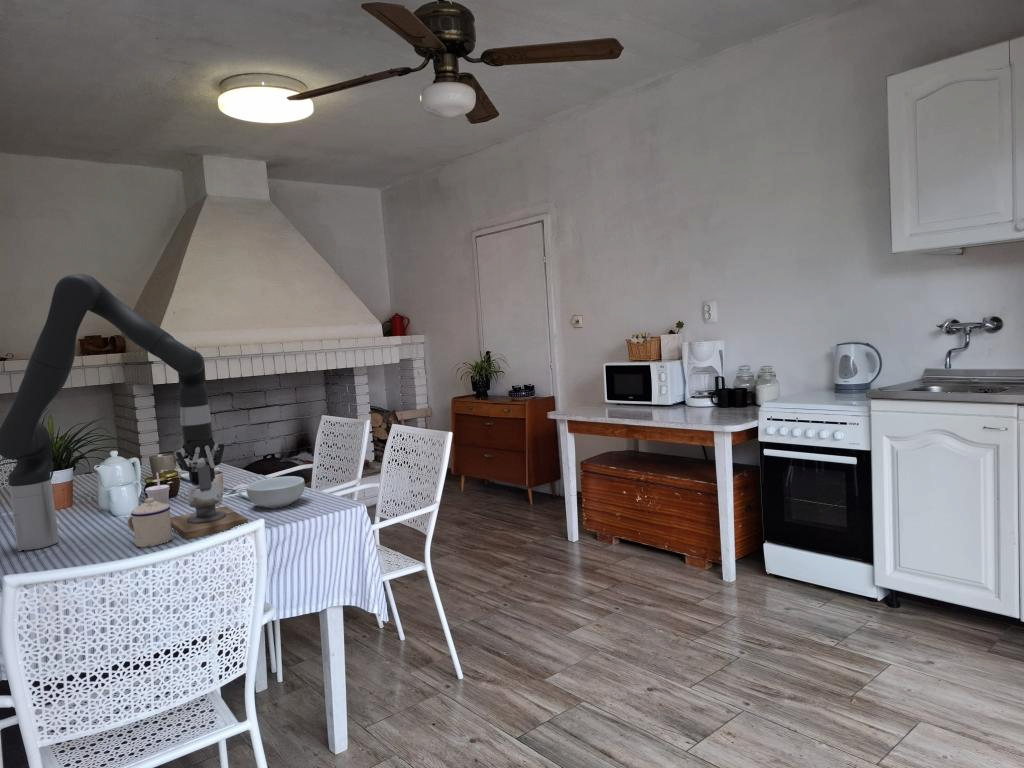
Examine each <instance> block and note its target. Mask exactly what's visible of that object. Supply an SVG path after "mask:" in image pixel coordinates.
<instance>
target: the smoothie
mask: <svg viewBox="0 0 1024 768" xmlns="http://www.w3.org/2000/svg"><path fill="white" fill-rule="evenodd" d="M159 475H160V474H159V472H156V482H157V485H153V486H149V487H146V488H145V494H147V498H154V501H158V502H160V503H165V504H168V505H169V499H170V498H169V495H170V494H169V493H170V491H169V490H170V489H171V488H170V485H169V484H161V483H160V476H159Z"/></svg>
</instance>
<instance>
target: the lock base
mask: <svg viewBox="0 0 1024 768" xmlns="http://www.w3.org/2000/svg"><path fill="white" fill-rule="evenodd" d="M170 519H171V527H172V528H173V529H174V530H175V532H176V531H177V532H178V533H179V534H180V535H179V534H178V533H177V532H176V533H177V534H178V535H179V536H181V535H182V536H183V537H184V538H185V539H188V540H191V539H196V538H200V537H204V535H205V536H209V535H213V534H217V533H221V531H222V532H225V531H224V530H227V531H229V530H228V529H231V528H233V527H235V526H238V525H241V524H244V523H248V524H249V522H248V518H247V517H246V516H244V515H242V514H241V513H238V512H237V511H235V510H233V509H232V508H230V507H228V506H227V505H225V506H220V507H216V504H214V505H211V506H205V507H195V512H192V513H188V514H182V515H178V516H174V517H170ZM173 529H172V530H173ZM174 530H173V531H174ZM231 530H232V529H231ZM182 536H181V537H182ZM183 537H182V538H183ZM184 538H183V539H184ZM185 539H184V540H185Z"/></svg>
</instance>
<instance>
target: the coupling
mask: <svg viewBox="0 0 1024 768" xmlns="http://www.w3.org/2000/svg"><path fill="white" fill-rule="evenodd" d="M195 472H197V480H198V485H192V484H191V485H190V486H187V489H186V490H187V495H188V505H189V506H188V507H190V508H196V507H205V506H211V505H214V504H215V505H217V504H219V503H221V502H222V501H221V493H220V491H221V490H220V483H219V482H217V481H216V482H215V481H213V482H211V475H210V466H209V465H208V464H206V463H205V461H198V463H197V465H196V471H195Z"/></svg>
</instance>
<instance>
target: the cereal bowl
mask: <svg viewBox="0 0 1024 768" xmlns="http://www.w3.org/2000/svg"><path fill="white" fill-rule="evenodd" d="M305 487H306V484H305V479H304V477H301V476H294V475H292V476H291V475H290V476H289V475H288V476H287V475H286V476H285V475H284V476H275V477H268V478H265V479H259V480H257V481H253V482H251V483H249V484H247V485H246V487H245V489H246V495H247V497H248V499H249V501H250V502H252V503H253V504H255V505H257V506H260V507H264V508H265V507H266V509H277V508H276V507H280V508H283V507H282V506H285V507H287V506H286V505H288V506H289V504H290V505H291V504H292V503H294V502H295V501H297V500H298V499H300V498H301V497H302V495H303V493H304V491H305Z"/></svg>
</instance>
